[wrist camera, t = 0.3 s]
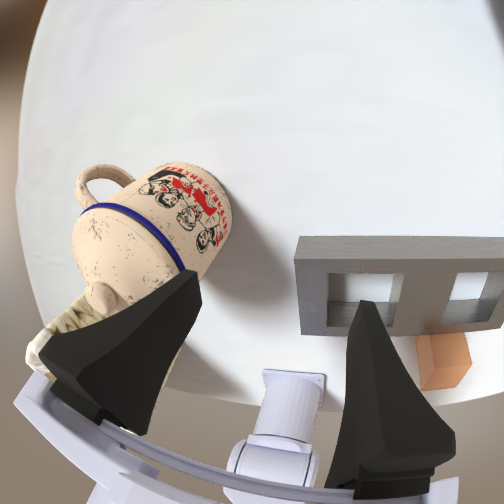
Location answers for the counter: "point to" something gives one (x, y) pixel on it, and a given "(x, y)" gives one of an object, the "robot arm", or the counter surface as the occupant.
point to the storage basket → (69, 321)
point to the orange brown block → (442, 360)
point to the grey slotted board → (401, 282)
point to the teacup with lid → (147, 231)
